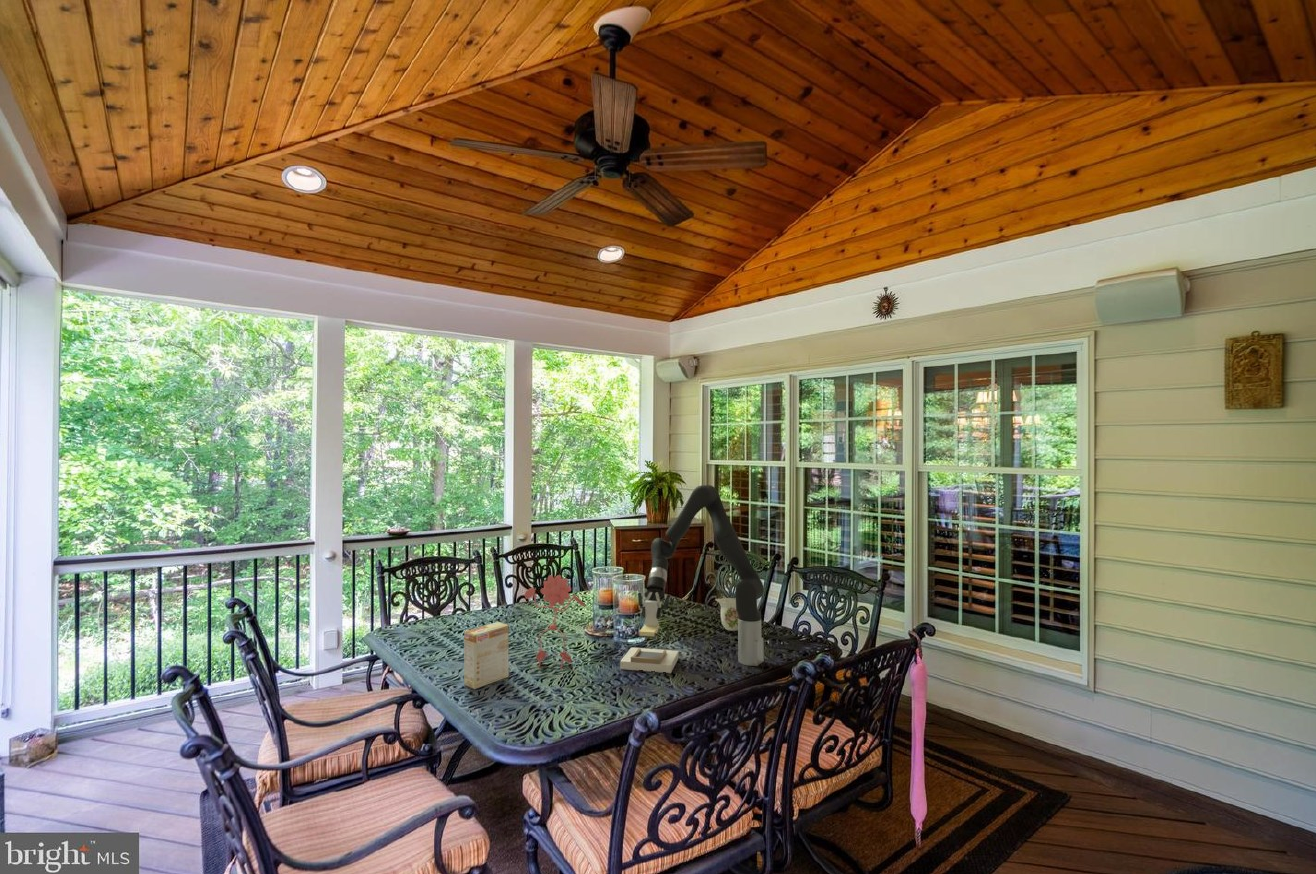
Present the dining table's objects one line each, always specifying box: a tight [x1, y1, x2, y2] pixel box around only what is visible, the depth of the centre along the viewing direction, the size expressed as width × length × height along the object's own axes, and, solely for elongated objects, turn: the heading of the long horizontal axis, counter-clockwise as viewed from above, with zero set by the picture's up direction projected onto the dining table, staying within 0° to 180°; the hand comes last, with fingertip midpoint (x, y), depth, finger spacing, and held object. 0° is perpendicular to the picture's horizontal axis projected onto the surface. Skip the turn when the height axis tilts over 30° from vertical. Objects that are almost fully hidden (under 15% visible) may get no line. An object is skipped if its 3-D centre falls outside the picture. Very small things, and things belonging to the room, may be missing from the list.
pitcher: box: [715, 597, 738, 632], centre depth 277 cm, size 11×18×14 cm, turn 86°
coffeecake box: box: [463, 621, 510, 690], centre depth 216 cm, size 15×7×20 cm, turn 141°
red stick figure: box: [524, 574, 586, 671], centre depth 235 cm, size 15×26×35 cm, turn 79°
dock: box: [619, 646, 680, 674], centre depth 232 cm, size 20×16×5 cm
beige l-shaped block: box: [638, 600, 661, 639], centre depth 232 cm, size 9×6×12 cm
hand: (650, 617), depth 233 cm, fingers closed on beige l-shaped block, 5 cm apart
